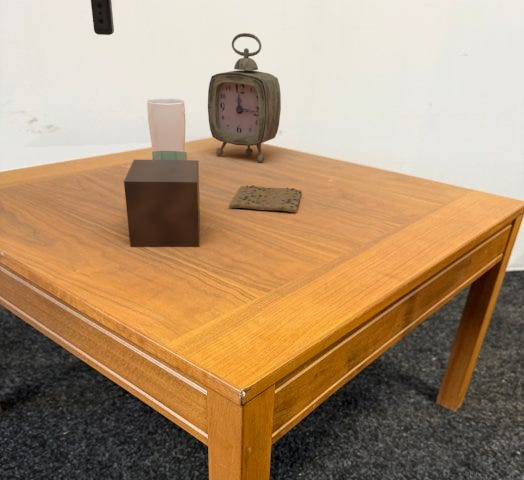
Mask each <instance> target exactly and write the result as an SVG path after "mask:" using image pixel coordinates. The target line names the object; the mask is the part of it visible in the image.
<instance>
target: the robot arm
mask: <svg viewBox="0 0 524 480" xmlns="http://www.w3.org/2000/svg"><path fill="white" fill-rule="evenodd" d="M112 4H113V3H112V0H90V7H91V14H92V15H91V17H92V24H93V25H92V26H93V32H94V33H95V34H96V35H99V36H103V35H104V36H110V35H113V34H114V32H115V25H114V16H113V15H114V14H113V5H112Z"/></svg>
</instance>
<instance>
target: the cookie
mask: <svg viewBox="0 0 524 480" xmlns="http://www.w3.org/2000/svg"><path fill="white" fill-rule="evenodd" d="M302 193H303V192H302V189H296V188H294V187H293V188H289V187H263V186H255V185H250V186H249V185H242V186H240V187H239V188H238V190H237V191H236V194H235V195H234V196H233V198H232V200H231V201H230V203H229V204H228V207H229V208H231V209H233V208H235V209H237V208H239V209H240V208H241V209H251V210H261V211H281V212H289V213H295V214H296V213H297V211H298V208H299V206H300V203H301V202H300V200H301V197H302V195H303V194H302Z"/></svg>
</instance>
